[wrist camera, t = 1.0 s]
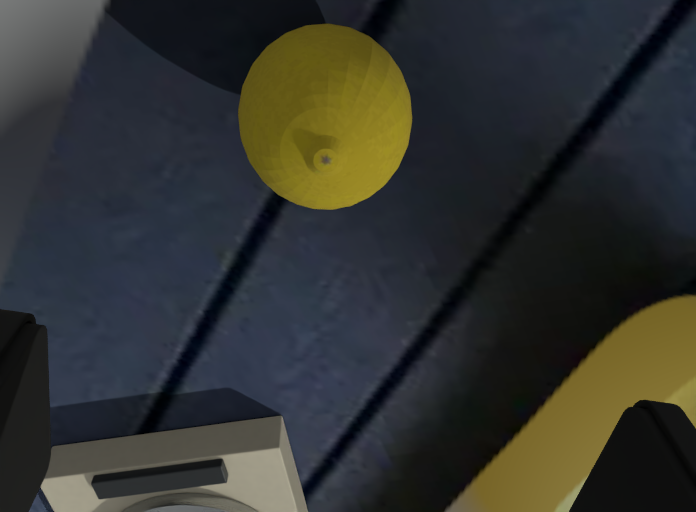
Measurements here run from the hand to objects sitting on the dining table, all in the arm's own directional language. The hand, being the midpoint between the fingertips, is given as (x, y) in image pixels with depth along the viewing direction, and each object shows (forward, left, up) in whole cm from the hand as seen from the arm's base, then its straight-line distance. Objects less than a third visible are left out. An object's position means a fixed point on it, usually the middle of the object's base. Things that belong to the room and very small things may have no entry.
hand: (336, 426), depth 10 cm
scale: (+24, -3, -17) cm, 29 cm away
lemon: (-1, 0, -17) cm, 17 cm away
